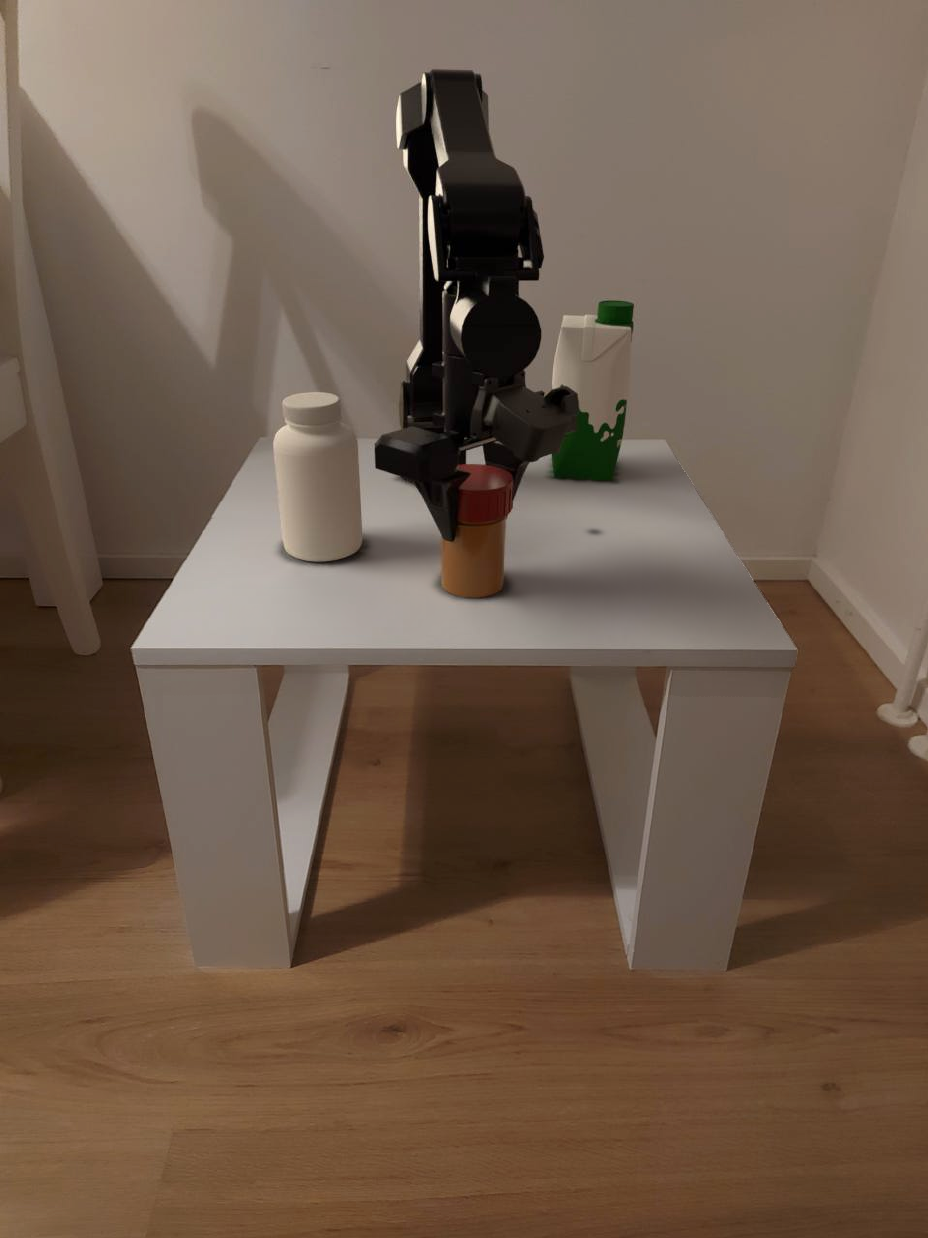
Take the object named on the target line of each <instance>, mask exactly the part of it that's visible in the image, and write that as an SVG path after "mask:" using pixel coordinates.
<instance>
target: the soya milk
mask: <svg viewBox="0 0 928 1238" xmlns="http://www.w3.org/2000/svg"><path fill="white" fill-rule="evenodd" d="M634 308H635V304H634V303H633V302H630V301H627V300H626V301H625V300H613V299H612V300H602V301H599V302H598V306H597V315H595V314H585V315H572V314H571V315H570V314H564V315H563V317H562V322H561V326H560V331H559V335H558V339H557V345H556V350H555V353H554V358H553V359H554V360H553V367H552V379H551V390H552V389H555V388H559V387H563V386H567V387H569V388H570V389H572V390H573V391H575V392H576V393H578V417H577V420H576V422H577V424H578V429H577V430H576V431H574V432H571V433H568V434H567V437H565V438H564V440H563V443H562V445H561V448H560V450H559V453H557V454H555V455H552V454H551V463H552V472H553V478H555V479H570V480H571V479H572V480H585V481H601V482H613V479H614V476H615V471H616V467H617V463H618V460H619V456H620V451H621V447H622V442H623V438H624V437H623V436H624V430H625V425H626V415H627V408H628V396H629V388H630V378H631V364H632V342H633V332H634V321H633V318H634Z"/></svg>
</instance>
